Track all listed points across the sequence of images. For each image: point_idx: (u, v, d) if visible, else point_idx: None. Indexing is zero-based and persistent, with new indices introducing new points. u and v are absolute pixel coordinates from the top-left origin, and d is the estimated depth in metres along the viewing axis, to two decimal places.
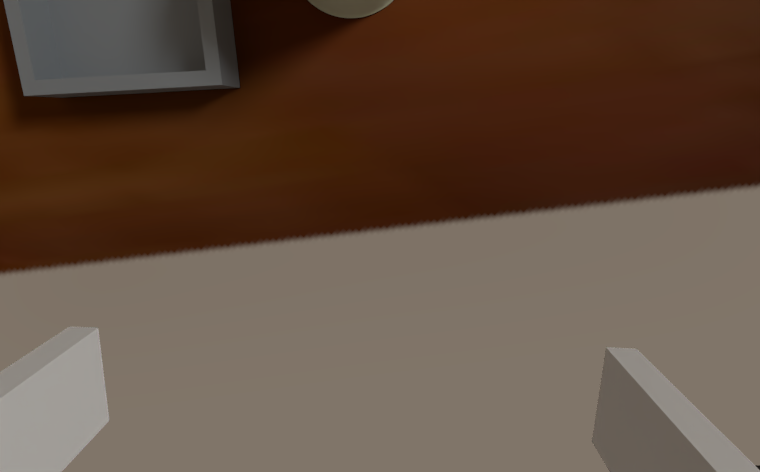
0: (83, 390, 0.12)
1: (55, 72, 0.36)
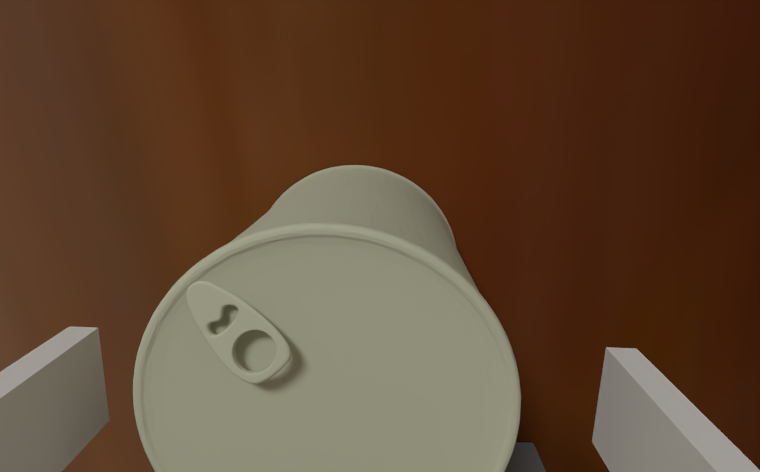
0: (83, 390, 0.12)
1: None
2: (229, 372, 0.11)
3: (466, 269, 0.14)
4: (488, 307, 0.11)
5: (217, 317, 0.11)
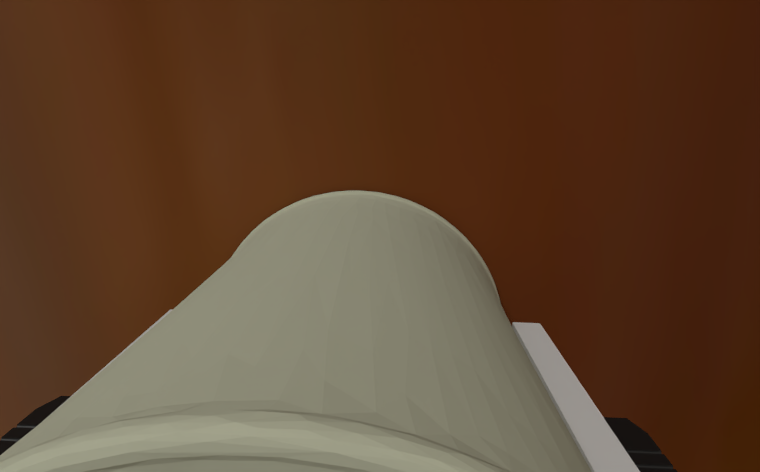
0: None
1: None
2: None
3: (557, 412, 0.08)
4: None
5: None
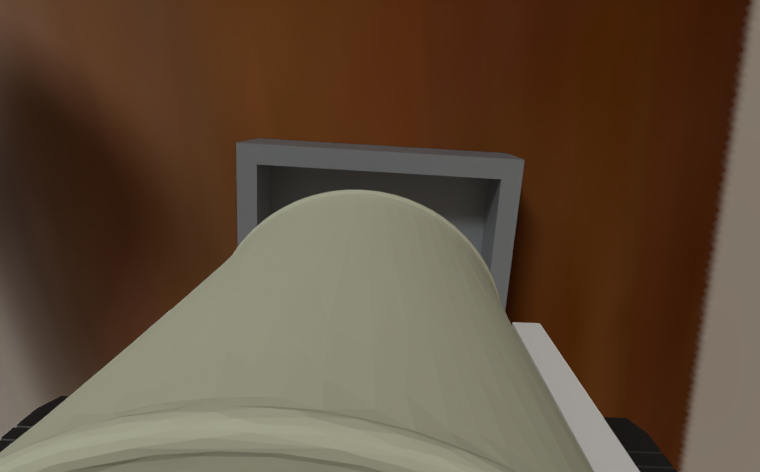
0: None
1: None
2: None
3: (557, 410, 0.08)
4: None
5: None
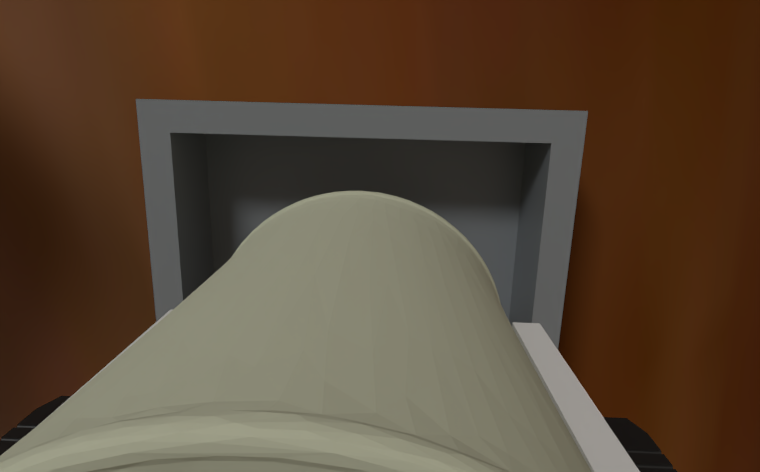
0: None
1: None
2: None
3: (558, 412, 0.08)
4: None
5: None
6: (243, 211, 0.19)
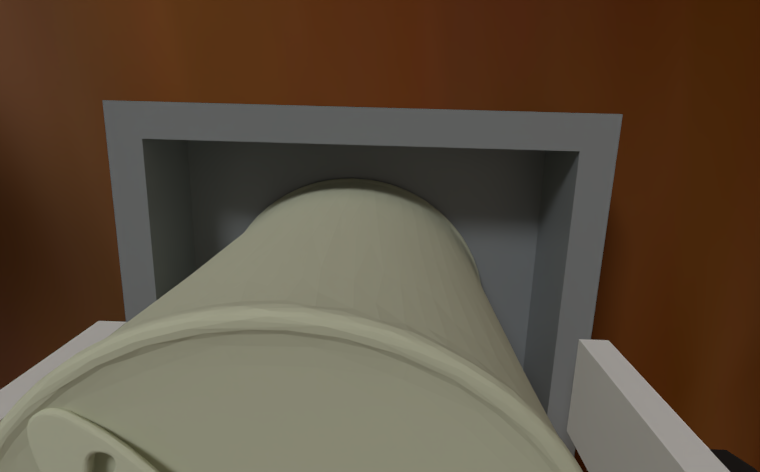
0: None
1: None
2: None
3: (508, 343, 0.09)
4: (566, 452, 0.06)
5: None
6: (229, 226, 0.17)
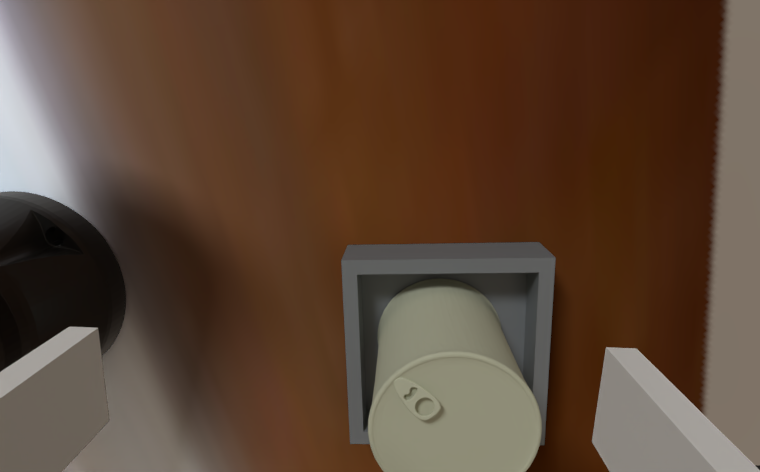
0: (83, 390, 0.12)
1: None
2: (411, 415, 0.26)
3: (511, 355, 0.29)
4: (524, 383, 0.25)
5: (408, 392, 0.25)
6: (380, 301, 0.37)
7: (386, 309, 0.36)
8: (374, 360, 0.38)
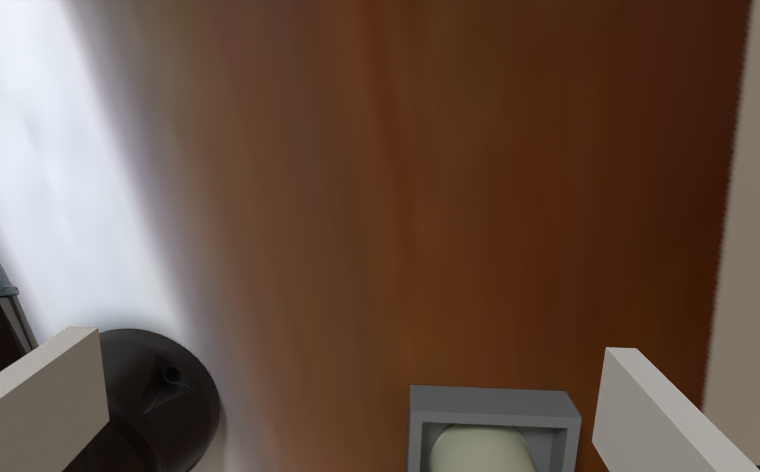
0: (83, 390, 0.12)
1: None
2: None
3: None
4: None
5: None
6: (433, 432, 0.45)
7: (439, 440, 0.44)
8: None
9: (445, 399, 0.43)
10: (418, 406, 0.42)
